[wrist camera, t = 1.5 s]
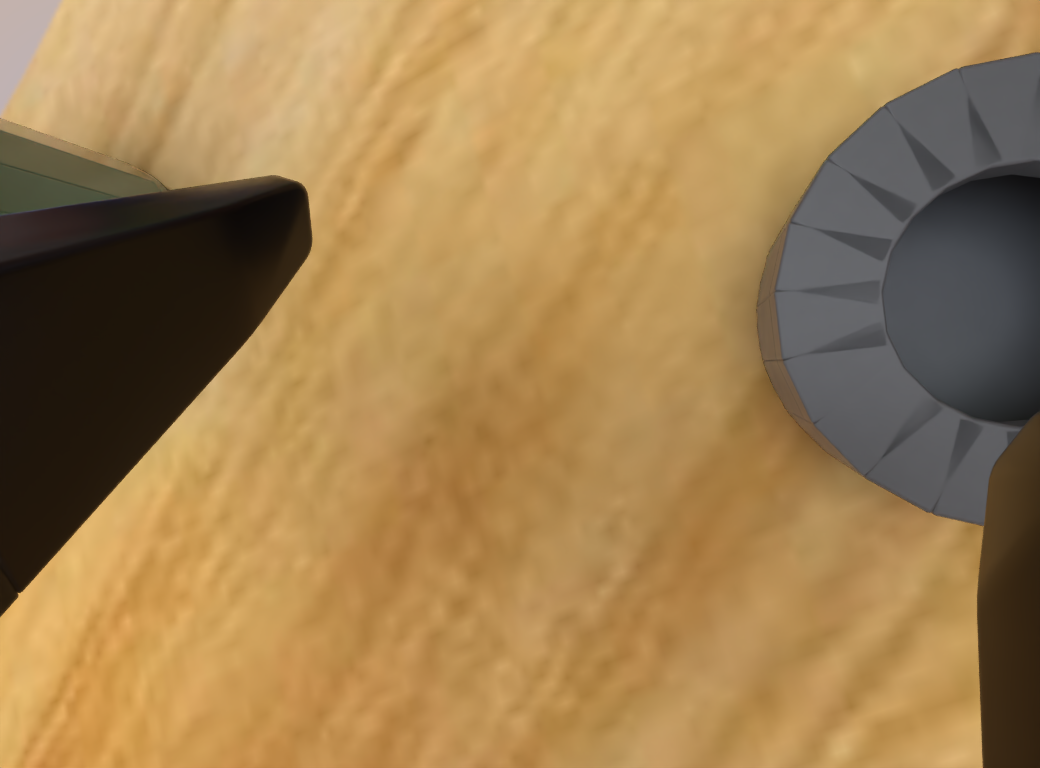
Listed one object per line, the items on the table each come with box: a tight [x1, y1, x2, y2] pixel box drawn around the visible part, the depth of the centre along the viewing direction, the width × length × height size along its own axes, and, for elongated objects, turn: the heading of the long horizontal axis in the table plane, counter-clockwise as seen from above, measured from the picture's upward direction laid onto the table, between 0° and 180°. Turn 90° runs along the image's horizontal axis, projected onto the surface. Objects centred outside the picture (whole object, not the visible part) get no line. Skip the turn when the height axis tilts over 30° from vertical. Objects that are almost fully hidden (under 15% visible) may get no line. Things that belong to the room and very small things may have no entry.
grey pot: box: [757, 52, 1040, 526], centre depth 18 cm, size 10×10×6 cm
